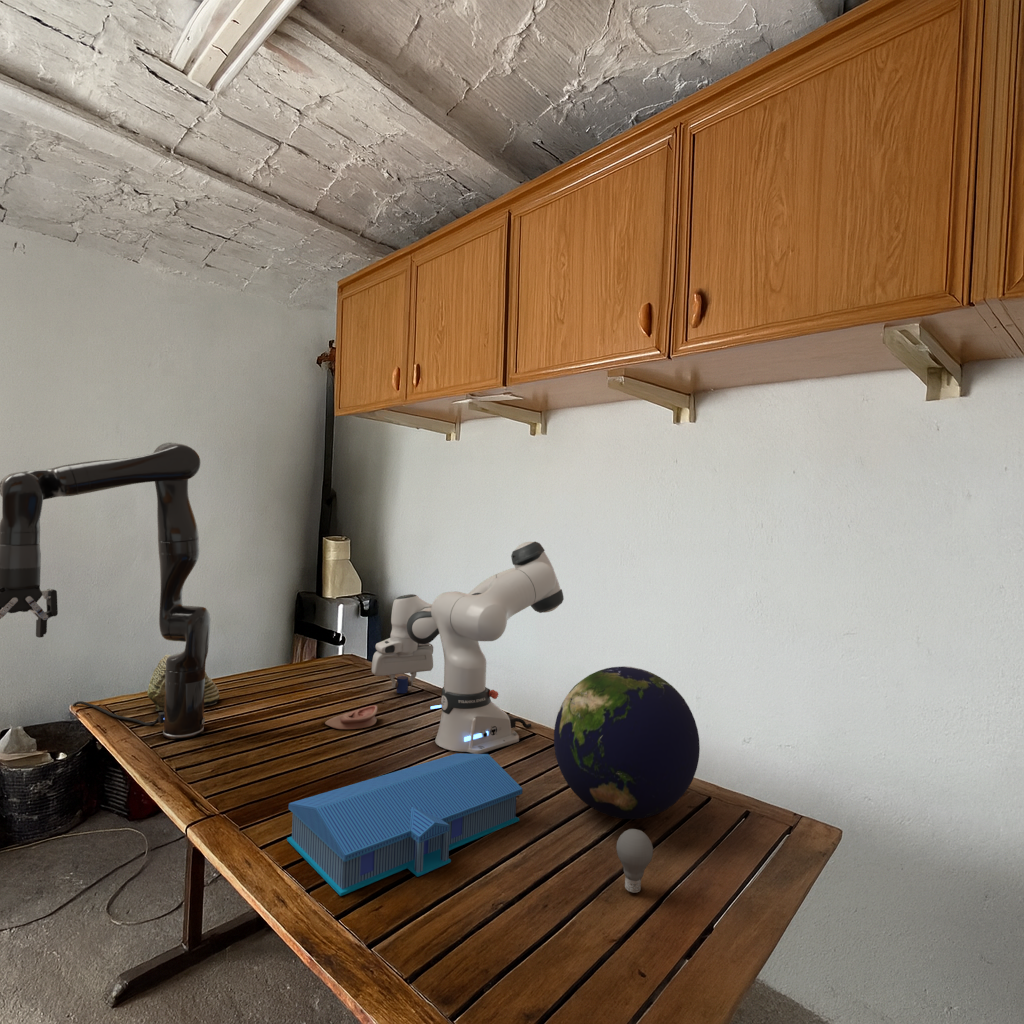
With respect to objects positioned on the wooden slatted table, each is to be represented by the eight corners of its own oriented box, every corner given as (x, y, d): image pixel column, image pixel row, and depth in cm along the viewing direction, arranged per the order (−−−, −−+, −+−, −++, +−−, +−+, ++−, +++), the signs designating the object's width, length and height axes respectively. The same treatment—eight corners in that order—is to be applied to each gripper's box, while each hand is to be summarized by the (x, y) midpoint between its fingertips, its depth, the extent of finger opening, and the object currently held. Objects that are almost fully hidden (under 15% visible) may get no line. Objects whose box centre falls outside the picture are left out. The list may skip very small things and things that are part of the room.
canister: (405, 693, 204) (406, 679, 204) (394, 692, 205) (395, 678, 205) (409, 690, 208) (409, 676, 208) (398, 689, 208) (399, 675, 208)
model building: (350, 906, 98) (352, 842, 98) (285, 839, 117) (287, 785, 116) (531, 827, 125) (533, 776, 125) (455, 782, 143) (457, 738, 143)
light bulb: (610, 879, 108) (613, 822, 108) (644, 879, 109) (647, 822, 109) (619, 902, 102) (622, 840, 102) (655, 901, 103) (658, 840, 103)
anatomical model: (320, 712, 173) (339, 699, 184) (319, 726, 173) (339, 713, 184) (365, 717, 170) (382, 704, 181) (364, 732, 170) (381, 718, 181)
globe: (530, 827, 125) (537, 675, 124) (573, 769, 152) (579, 645, 152) (686, 866, 113) (694, 700, 113) (702, 796, 141) (709, 663, 141)
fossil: (144, 707, 182) (145, 655, 182) (212, 696, 194) (213, 647, 194) (151, 716, 175) (153, 662, 175) (221, 703, 188) (223, 653, 188)
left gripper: (-16, 568, 128) (-18, 648, 129) (64, 564, 140) (62, 637, 140) (-30, 565, 132) (-32, 642, 133) (49, 561, 144) (47, 632, 145)
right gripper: (429, 639, 214) (428, 680, 214) (370, 644, 204) (369, 687, 204) (437, 644, 209) (435, 685, 209) (377, 648, 198) (375, 692, 198)
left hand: (16, 639), depth 137 cm, fingers open, 8 cm apart
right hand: (402, 686), depth 206 cm, fingers closed on canister, 4 cm apart
